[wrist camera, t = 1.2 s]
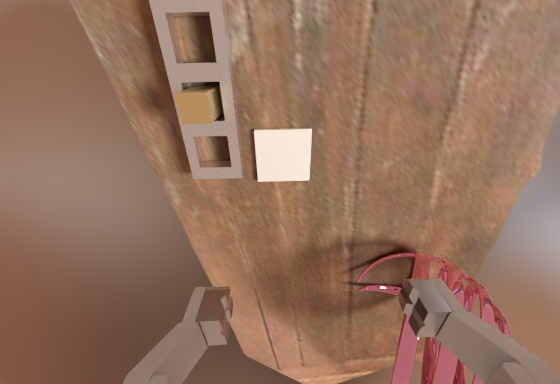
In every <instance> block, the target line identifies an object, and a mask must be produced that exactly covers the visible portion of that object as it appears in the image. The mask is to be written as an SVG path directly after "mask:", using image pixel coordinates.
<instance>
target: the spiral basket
mask: <svg viewBox="0 0 560 384" xmlns="http://www.w3.org/2000/svg"><path fill="white" fill-rule="evenodd" d="M399 257H413V258H415V262H414V266H413V271H412V276H411V279H418V278H429V270H430V261H433V262H436V263H438V264H440V265H441V269H440V272H439V275H438V278H440V279H441V280H443V282H444V283H445V284H446V286H447V287H448V288H449V290H450V291H451V292H452V293H453V295H454V296H455V297H456V299H457V300H458V301H459V302H460V304H461V305H462V306H463V308H464V309H465V310H466V312H471V311H472V308H473V305H474V303H475V300H476V299H477V297H478V295H479V299H480V319H482V320H483V321H485V322H487V323H488V324H490V325H491V326H493V327H494V328H496V326H497V324H498V325H499V328H500V331H501V332H502V333H503V334H505V335H506V336H508V337H509V338H511V334H510V329H509V326H508V323H507V320H506V318H505V316H504V315H503V313H502V312H501V311H500V310H499V309H498V308H497V306H496V305H495V304H494V302H493V301H492V299H491V297H490V295H489V293H488V291H487V290H486V289H485V288H484V286H482V285H481V284H480V283H479V282H478V281H476V280H475V279H473V278H472V277H470V276H469V275H468V274H466V273H465V272H464V271H462V270H461V269H460V268H459V267H458V266H456V265H455V264H453V263H451V262H448V261H445V260H442V259H439V258H436V257H434V256H431V255H428V254H425V253H396V254H391V255H388V256H385V257H382V258H380V259H378V260H376V261H375V262H373V263H372V264H370V265H369V266H368V267H367V268H366V269H365V270H364V271H363V272H362V273H361V275H360V276H359V278H358V280H357V282H358V283H359V282H360V281H361V280H362V279H363V277H364V276H365V275H366V274H367V273H368V272H369V271H370V270H371V269H372V268H373V267H375V266H376V265H378V264H380V263H382V262H384V261H386V260H389V259H393V258H399ZM463 278H464V279H465V280H466V281H467V282H468V284H467V285H466V287H465V289H464V282H463ZM401 289H402V287H397V286H391V285H367V286H363V287H360V288H358V289H357V291H365V290H371V291H380V292H385V293H390V294H394V295H399V291H400V290H401ZM408 320H409V316H408V315H406V314H405V313H404V317H403V322H402V327H401V332H400V337H399V342H398V348H397V353H396V358H395V363H394V368H393V373H392V379H391V384H409V383H410V379H411V374H412V370H413V365H414V360H415V356H416V351H417V345H418V340H419V337H416V336H415V334H414V332H413V330H412V328H411V326H410V324H409V322H408ZM437 348H438V340H437V339H436V337H426V339H425V346H424V354H423V363H422V376H421V384H465V368H464V364H463V363H462V362H461V361H460V360H459V359H458V358H457V357H456V356H455V355H453V354H452V353H451V352H450V351H449V350H448V349H447V348H446V347H445V346H444V345H443V344H442V343H441V342H440V347H439V353H438V358H437ZM436 359H437V363H436ZM472 384H484V382H482V381H481V380H480V379H479V378H478V377H477V376H476V375H475V374H474V378H473V382H472Z"/></svg>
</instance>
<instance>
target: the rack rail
mask: <svg viewBox="0 0 560 384" xmlns="http://www.w3.org/2000/svg"><path fill="white" fill-rule="evenodd" d="M149 3H150V7H151V11H152V15H153V19H154V23H155V27H156V31H157V35H158V39H159V43H160V47H161V51H162V55H163V59H164V63H165V67H166V71H167V75H168V80H169V84H170V88H171V92H172V96H173V100H174V104H175V108H176V112H177V116H178V120H179V124H180V128H181V132H182V136H183V140H184V144H185V148H186V152H187V156H188V160H189V164H190V168H191V172H192V176H193V179H218V178H243V175H244V171H245V169H244V160H243V152H242V143H241V134H240V125H239V116H238V107H237V98H236V89H235V80H234V72H233V63H232V54H231V45H230V36H229V27H228V18H227V9H226V0H149ZM181 16H210V20H211V27H212V34H213V41H214V48H215V55H216V62H213V63H184V59H183V54H182V49H181V45H180V40H179V35H178V30H177V25H176V21H175V17H181ZM188 82H219V83H220V90H221V96H222V103H223V110H224V117H217V118H216V119H215V120H214V121H213V122H212V123H211V124H182V122H181V118H180V114H179V110H178V106H177V101H176V97H175V92H178V91H181V90H185V89H188V88H189V83H188ZM200 136H227V138H228V145H229V152H230V159H231V161H205V160H204V155H203V150H202V145H201V141H200Z"/></svg>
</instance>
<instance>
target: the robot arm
mask: <svg viewBox="0 0 560 384" xmlns="http://www.w3.org/2000/svg"><path fill="white" fill-rule="evenodd" d="M402 285H403V287H404V288H402V289H401V290H400V291H399V295H398V298H399V303H400V306H401V308H402V311H403V312H404V313H405V314H406V315H408V316H409V320H408V322H409V324H410V326H411V328H412V330H413V332H414V334H415V336H416V337H436V339H437V340H438V341H439V342H441V343H442V344H443V345H444V346H445V347H446V348H447V349H448V350H449V351H450V352H451V353H452V354H453V355H455V356H456V357H457V358H458V359H459V360H460V361H461V362H462V363H463V364H464V365H465V366H466V367H467V368H468V369H470V370H471V371H472V372H473V373H474V374H475V375H476V376H477V377H478V378H479V379H480V380H481V381H482V382H484V384H560V378H559V376H558V375H557V374H556V373H555V372H554V371H553V370H552V368H551V367H550V366H549V365H548V364H547V363H546V362H545V361H544V360H543V359H541V358H540V357H538V356H537V355H535V354H534V353H532V352H531V351H529V350H528V349H526V348H525V347H523V346H522V345H520V344H519V343H517V342H515V341H514V340H512V339H511V338H509V337H508V336H506V335H505V334H503V333H502V332H500V331H499V330H497V329H496V328H494V327H493V326H491V325H490V324H488V323H487V322H485V321H483V320H482V319H480V318H479V317H477V316H476V315H474V314H473V313H471V312H466V310H465V309H464V308H463V306H462V305H461V304H460V302H459V301H458V300H457V299H456V297H455V296H454V295H453V293H452V292H451V291H450V290H449V288H448V287H447V286H446V284H445V283H444V282H443V280H441V279H440V278H418V279H405V280H404V281H403V283H402ZM229 295H230V289H229V287H196V288H195V290H194V291H193V294H192V297H191V299H190V302H189V305H188V308H187V310H186V313H185V316H184V319H183V321H182V323H178V324H177V325H176V326H175V327H174V328H173V329H172V330H171V331H170V332H169V333H168V334H167V335H166V336H165V337H164V338H163V339H162V340H161V341H160V342H159V343H158V344H157V345H156V346H155V347H154V348H153V349H152V350H151V351H150V352H149V353H148V354H147V355H146V357H144V358H143V360H142V361H140V363H138V364H137V365H136V366H135V367H134V369H132V371H131V372H130V373H129V374H128V375H127V376H126V378H125V381H124V383H123V384H182V382H183V381H184V380H185V378H186V377H187V376H188V374H189V373H190V371H191V370H192V368H193V367H194V365H195V364H196V363H197V361H198V360H199V358H200V357H201V356H202V354H203V353H204V351H205V350H206V349H207V347H208V345H222V344H227V340H228V334H229V329H230V328H229V325H228V322H229V321H230V320H231V318H232V310H233V301H232V297H231V296H229Z"/></svg>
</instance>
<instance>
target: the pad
mask: <svg viewBox="0 0 560 384" xmlns="http://www.w3.org/2000/svg"><path fill="white" fill-rule="evenodd" d="M254 138H255V151H256V163H257V175H258V182H262V181H305V180H309V176H310V157H311V138H312V128H277V129H254Z"/></svg>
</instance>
